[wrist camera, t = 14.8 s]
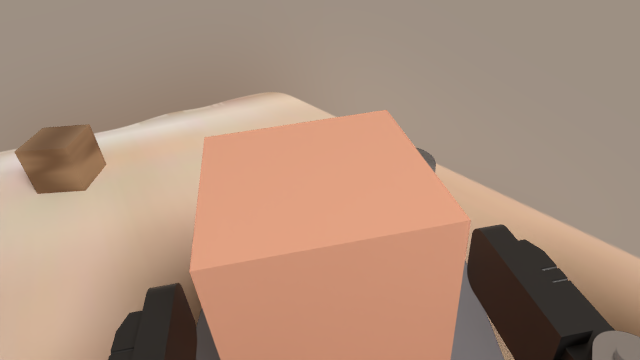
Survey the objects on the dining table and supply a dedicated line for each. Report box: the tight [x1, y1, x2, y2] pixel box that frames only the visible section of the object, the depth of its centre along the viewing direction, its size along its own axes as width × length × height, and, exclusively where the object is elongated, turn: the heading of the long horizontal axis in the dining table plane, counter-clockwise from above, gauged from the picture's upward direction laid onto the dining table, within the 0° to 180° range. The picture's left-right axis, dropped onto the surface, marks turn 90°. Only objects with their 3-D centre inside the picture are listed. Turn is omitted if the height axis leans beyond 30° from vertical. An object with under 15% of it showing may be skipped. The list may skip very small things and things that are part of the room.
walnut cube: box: [15, 124, 106, 194], centre depth 35 cm, size 4×4×4 cm
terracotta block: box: [189, 110, 471, 360], centre depth 13 cm, size 5×5×12 cm
